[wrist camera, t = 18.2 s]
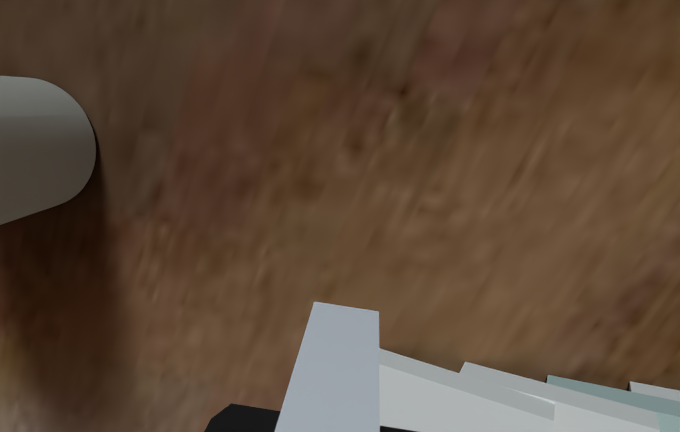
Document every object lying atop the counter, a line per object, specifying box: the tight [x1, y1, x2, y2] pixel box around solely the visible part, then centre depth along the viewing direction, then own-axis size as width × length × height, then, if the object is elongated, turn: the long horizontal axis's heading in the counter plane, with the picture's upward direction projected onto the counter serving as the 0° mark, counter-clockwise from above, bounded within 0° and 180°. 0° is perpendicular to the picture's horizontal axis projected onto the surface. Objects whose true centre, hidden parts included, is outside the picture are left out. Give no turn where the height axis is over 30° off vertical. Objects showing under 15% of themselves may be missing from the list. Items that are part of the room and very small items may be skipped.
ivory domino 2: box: [460, 362, 660, 432], centre depth 33 cm, size 2×5×11 cm
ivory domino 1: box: [379, 348, 555, 432], centre depth 33 cm, size 2×5×11 cm
